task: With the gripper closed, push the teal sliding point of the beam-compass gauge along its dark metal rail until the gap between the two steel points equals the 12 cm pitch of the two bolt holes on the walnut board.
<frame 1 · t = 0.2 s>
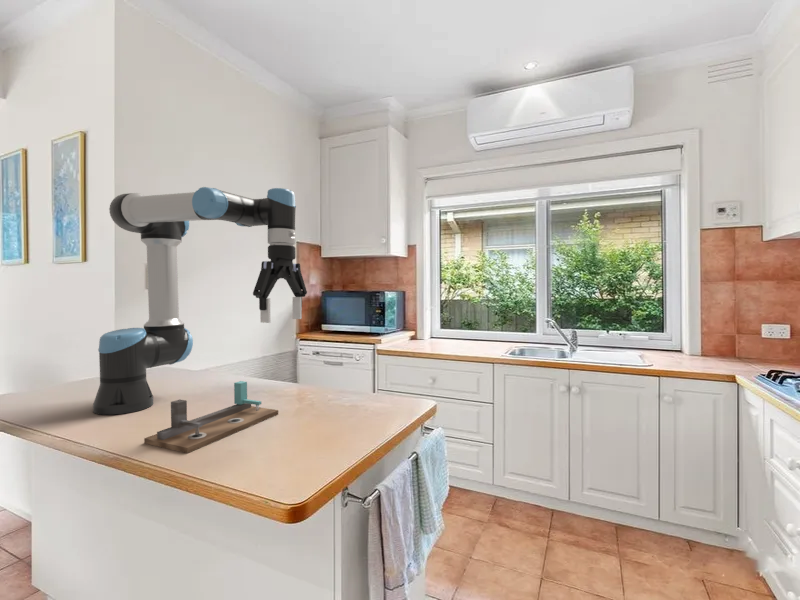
hand: (282, 320, 118), 27 cm above the table, fingers open, 13 cm apart
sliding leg: (248, 396, 118), point 5 cm above the table, slide at 8.0 cm
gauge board: (218, 427, 108), on the table
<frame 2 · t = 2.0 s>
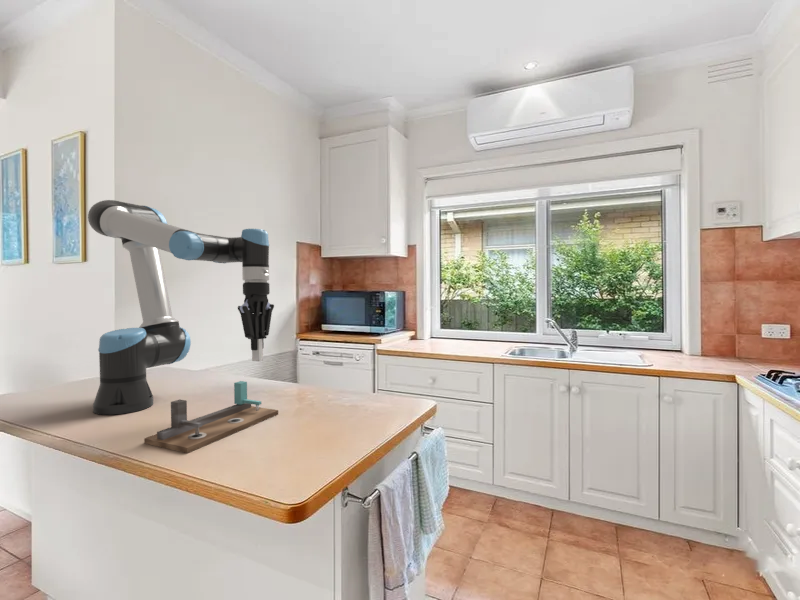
hand: (257, 360, 124), 14 cm above the table, fingers closed
nothing on the table moved.
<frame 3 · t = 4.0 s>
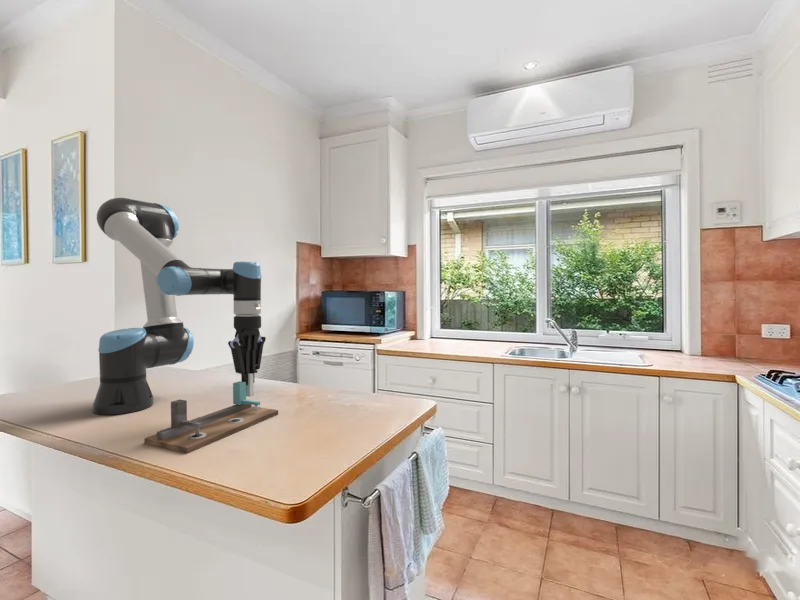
hand: (248, 395, 122), 5 cm above the table, fingers closed
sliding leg: (247, 396, 117), point 5 cm above the table, slide at 7.5 cm, touching gripper
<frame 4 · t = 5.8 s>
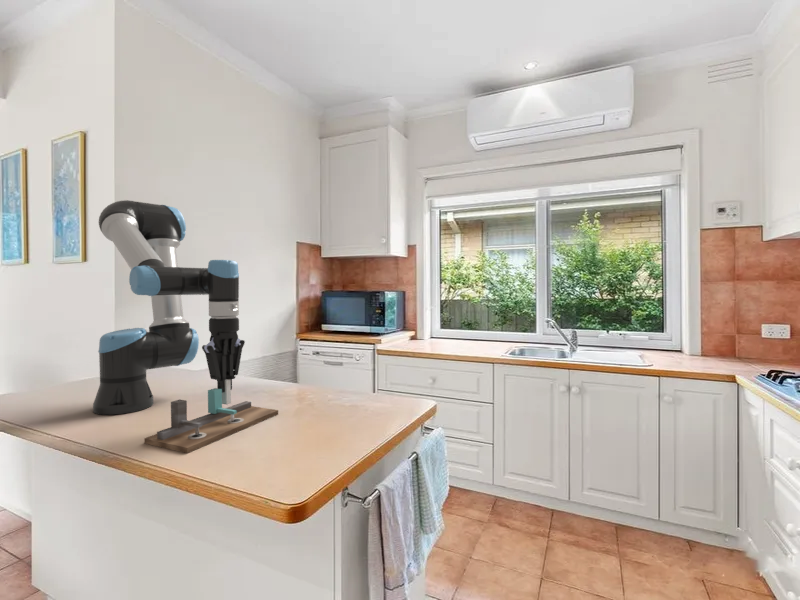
hand: (225, 403, 113), 5 cm above the table, fingers closed
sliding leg: (223, 404, 109), point 5 cm above the table, slide at -1.2 cm, touching gripper
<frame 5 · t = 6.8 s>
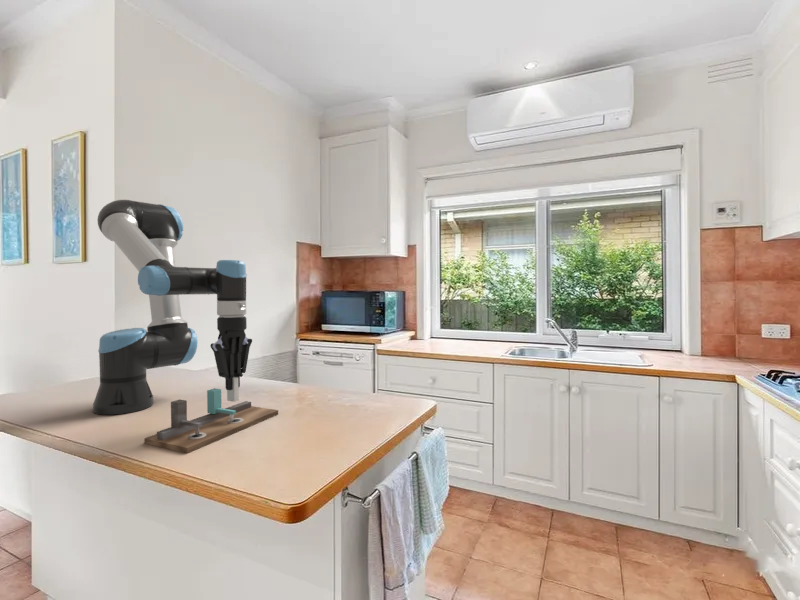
hand: (232, 400, 116), 5 cm above the table, fingers closed
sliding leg: (222, 405, 109), point 5 cm above the table, slide at -1.4 cm
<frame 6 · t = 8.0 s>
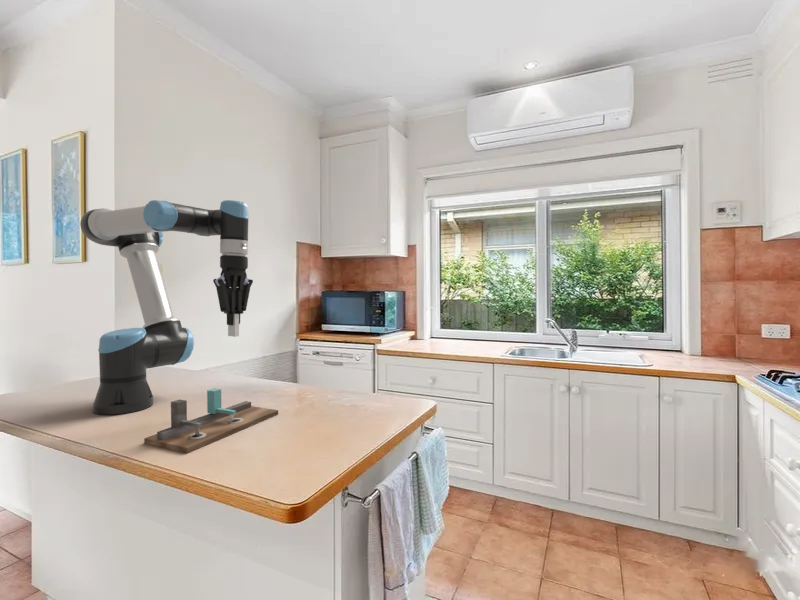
hand: (233, 335, 122), 22 cm above the table, fingers closed
nothing on the table moved.
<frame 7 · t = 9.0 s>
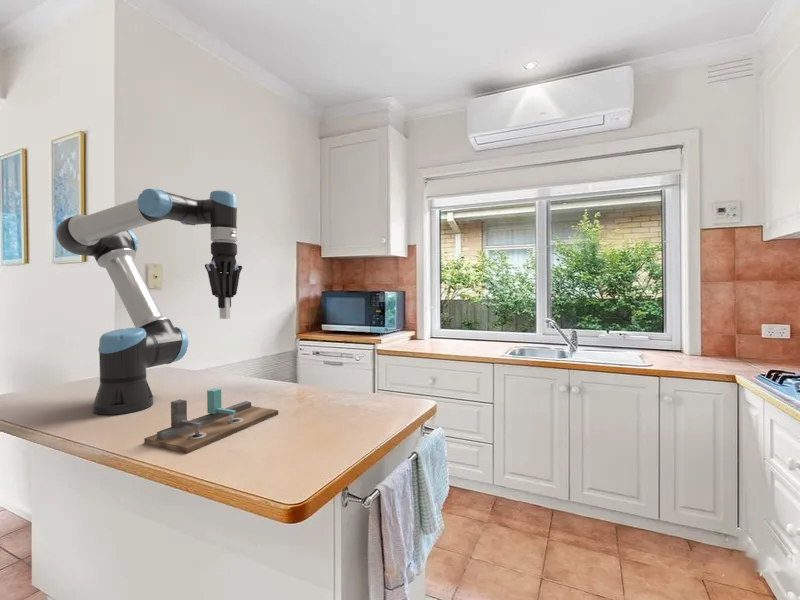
hand: (224, 318, 129), 26 cm above the table, fingers closed
nothing on the table moved.
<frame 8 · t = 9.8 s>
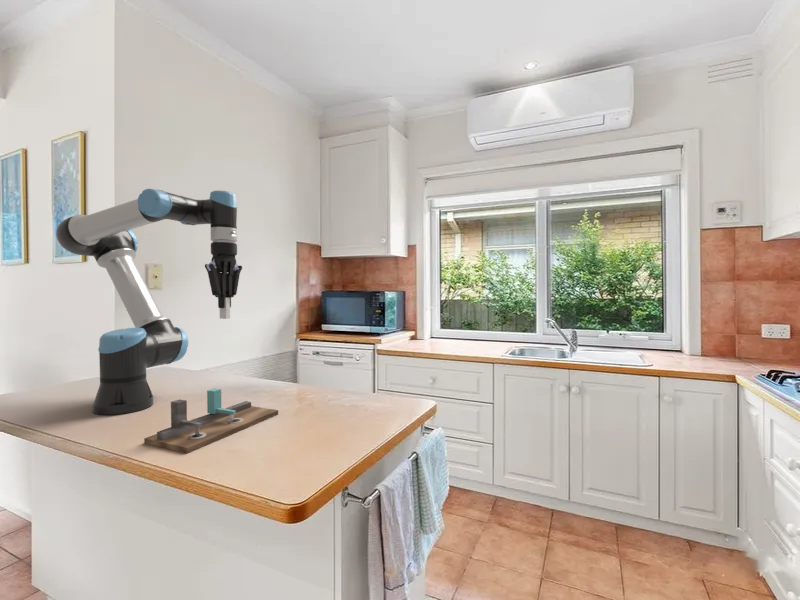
hand: (224, 318, 129), 26 cm above the table, fingers closed
nothing on the table moved.
at the end: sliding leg slide at -1.4 cm; the gripper is holding nothing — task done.
